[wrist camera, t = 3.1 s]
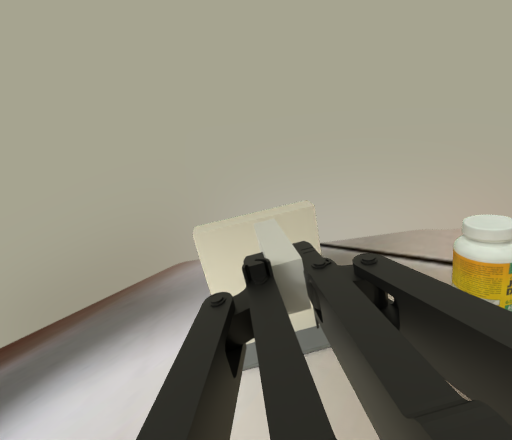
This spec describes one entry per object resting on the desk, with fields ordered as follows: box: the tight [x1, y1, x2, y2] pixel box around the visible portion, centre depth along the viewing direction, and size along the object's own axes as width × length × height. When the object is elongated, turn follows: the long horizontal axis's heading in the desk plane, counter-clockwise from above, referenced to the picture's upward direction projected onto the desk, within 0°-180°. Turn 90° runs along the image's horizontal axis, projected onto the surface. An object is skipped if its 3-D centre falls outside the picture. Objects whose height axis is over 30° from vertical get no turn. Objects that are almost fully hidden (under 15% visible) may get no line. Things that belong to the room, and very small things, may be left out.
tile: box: [192, 200, 321, 344], centre depth 27 cm, size 2×12×14 cm, turn 97°
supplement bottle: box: [452, 215, 512, 312], centre depth 26 cm, size 5×5×10 cm
